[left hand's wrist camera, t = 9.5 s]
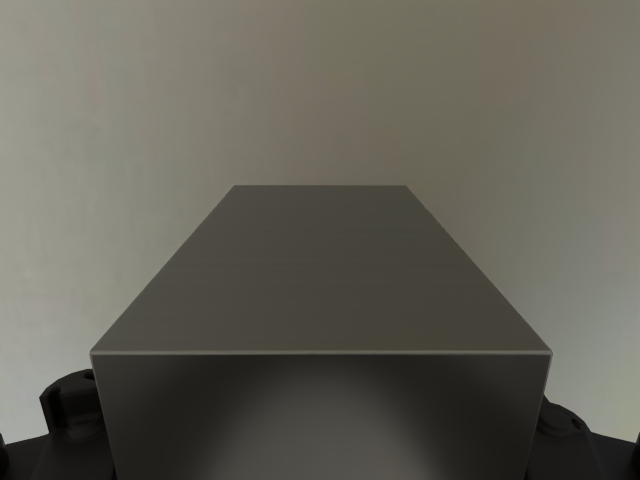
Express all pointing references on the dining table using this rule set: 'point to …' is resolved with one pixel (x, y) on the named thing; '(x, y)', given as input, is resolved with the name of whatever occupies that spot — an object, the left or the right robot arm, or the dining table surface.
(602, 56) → the dining table surface
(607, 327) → the dining table surface
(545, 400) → the left robot arm
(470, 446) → the bar
